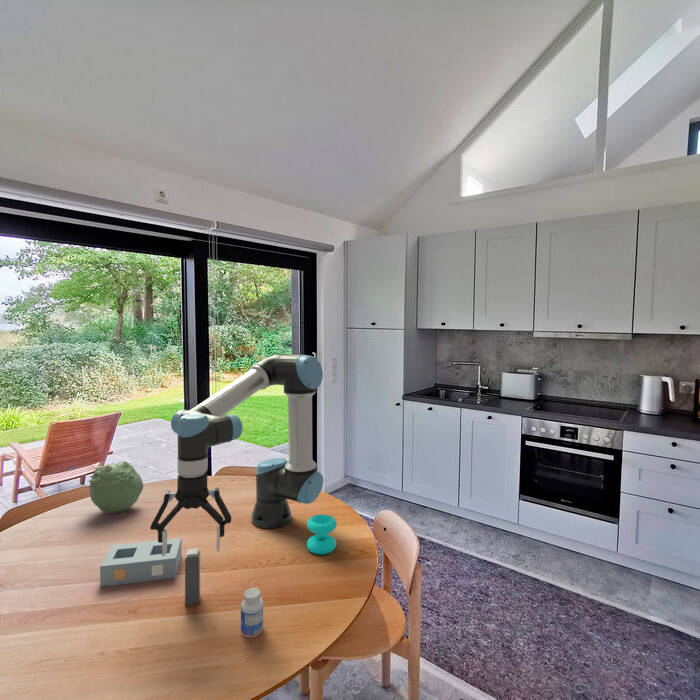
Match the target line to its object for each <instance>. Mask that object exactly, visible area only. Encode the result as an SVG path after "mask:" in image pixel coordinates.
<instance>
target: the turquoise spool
mask: <svg viewBox="0 0 700 700" xmlns="http://www.w3.org/2000/svg"><path fill="white" fill-rule="evenodd" d="M337 524H338V523H337V520H336V518H334V517H333V516H331V515H329V514H324V513H323V514H316V515H313V516H311V517H309V518H308V520H307V523H306V526H307V528H308V530H309V531H310V532H311V533H314V534H313V535H312V536H310V537H309V538H308V539H307V542H306V548H307V549H308V551H310V552H311V553H312V554H314V555H327V554H330V553H332V552H333V551H334V550H335V549H336V547H337V541H336V539H335V538H334V537H333V536H332V535H330V533H332V532H333V531H334V530H335V529H336V528H337Z"/></svg>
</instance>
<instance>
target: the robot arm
mask: <svg viewBox="0 0 700 700" xmlns="http://www.w3.org/2000/svg"><path fill="white" fill-rule="evenodd" d="M323 375H324V372H323V368H322V365H321V362H320V361H319V359H317V357H315V356H312V355H306V354H295V353H294V354H293V353H289V354H288V353H275V354H272V355H269V356H267V357H265V358H263V359H261V360H259V361H257V362H256V363H254V364H252V365H251V366H250V367H249V368H248V369H247V372H246V373H244V374H243V375H241V376H240V377H237V378H236V379H235V380H234V381H232V382H231V383H229V384H228V385H226V386H224V387H223V388H222V389H220V390H217V392H215V393H214V394H212V395H211V396H210V397H208V398H206V399H205V400H203V401H202V402H201V403H199V404H197V405H195V407H193V408H191V409H181V410H178V411H176V412H175V413H174V414H173V415H172V417H171V420H170V428H171V430H172V431H173V432H174V433H175V434H177V482H176V483H177V488H176V489H177V490H176V492H174V491H173V492H171V490H166V491H165V493H164V495H163V501H162V504H161V505H160V508H159V509H158V511H157V513H156V515H155V516H154V519H153V520H152V522H151V524H150V527H149V528H150V530H152V531H153V530H156V531H157V540H158V542H159V543H162V556H165V555H166V552H167V539H168V527H167V526H168V524H169V523H170V522H171V521H172V520H173V519H174V517H175V516H176V515H177V514H178V513H179V512H180V511H181V510H183V509H185V510H190V509H199V508H201V509H203V511H205V512H207V514H208V515H209V516H210V517H212V519H213V520H214V521H215V523H217V524H216V552H218V551H220V547H221V538H224V537H225V525H226V524H227V525H228V524H231V522H232V515H231V513H230V512H229V510H228V508H227V505H226V504H225V501H224V500H223V498H222V495H221V493H220V488H219V487H215V488H214V489H210V490H209V489H208V472H207V471H208V467H209V465H208V463H209V462H208V457H209V454H208V453H209V448H212V447H214V446H219V445H222V444H226V443H231V442H232V441H235V440H237V439H239V438H240V437H241V435H242V433H243V426H244V425H243V422H242V420H241V418H240V417H239V416H237V415H236V414H228V413H230V412H231V411H232V410H234V409H235V408H236V407H238V406H239V405H240V404H242V403H243V402H245V401H246V400H248V399H249V398H250V397H252V396H253V395H254V394H256V393H257V392H259V391H260V390H266V389H267V388H268V387H271V386H276V385H278V386H283V393H284V394H285V395H286V396H287V399H288V400H287V403H288V405H287V408H288V410H287V411H288V412H287V413H288V416H287V417H288V419H287V420H288V460H287V459H286V458H282V457H280V458H279V457H277V458H276V457H275V458H270V459H265V460H263V461H260V462H259V463H257V465H256V472H255V477H256V478H255V479H256V480H255V483H256V484H255V487H256V488H255V490H256V491H255V492H256V496H255V497H256V499H255V503H254V506H253V510H252V512H251V518H250V519H251V523H252V524H253V526H255V527H257V528H262V529H276V528H281V527H284V526H286V525H288V524H289V523H290V522H291V520H292V511H291V508H290V505H289V500H291V501H293V502H298V503H299V504H306V505H309V504H312V503H314V502H315V501H316V500H317V499H318V497H319V496H320V494H321V492H322V489H323V485H324V476H323V474H322V473H321V472H319V471H318V470H317V463H316V462H315V460H313V396H314V395H315V394H316V393H317V389H318V388H319V387H320V386H321V384H322V381H323V378H324V376H323ZM209 496H210V497H211V498H212V499H214V501H215V503H216V505H217V506H218V509H219V511H220V512H221V514H222V515H221V514H220V512H218V510H216V509H215V507H213V505H212V504H211V503H210V501H209V500H208V499H207V498H208V497H209ZM174 499H176V501H177V503H176V505H175V506H174V507H173V508H172V509H171V511H169V513H168V514H167V515H166V516H165V517H164V518H163V520H162V521H161V522H160V520H161V517H162V516H163V514H164V512H165V511H166V508H167V506H168V505H169V502H172V500H174Z"/></svg>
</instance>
